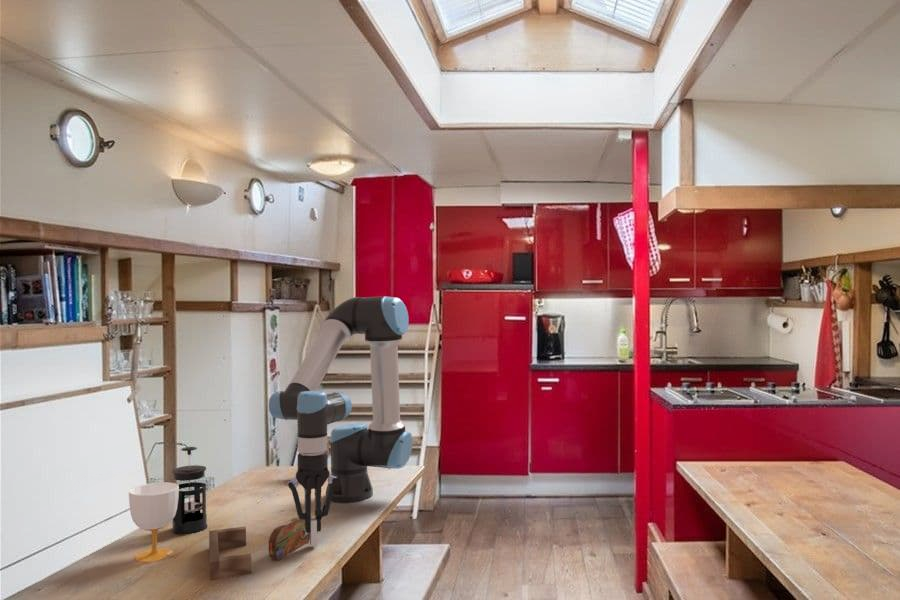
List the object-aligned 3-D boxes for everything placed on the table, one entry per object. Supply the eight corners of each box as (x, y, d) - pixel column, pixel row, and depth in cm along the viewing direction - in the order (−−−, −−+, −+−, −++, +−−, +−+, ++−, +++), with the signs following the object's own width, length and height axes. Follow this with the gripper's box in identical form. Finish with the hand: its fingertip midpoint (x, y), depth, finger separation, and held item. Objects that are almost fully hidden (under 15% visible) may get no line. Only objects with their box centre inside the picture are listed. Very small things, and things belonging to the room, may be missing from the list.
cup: (147, 568, 161) (146, 498, 161) (119, 558, 167) (118, 490, 167) (189, 552, 171) (188, 486, 171) (161, 544, 177) (160, 479, 177)
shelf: (245, 545, 176) (245, 526, 176) (251, 578, 155) (251, 556, 155) (209, 550, 173) (209, 530, 173) (210, 584, 152) (210, 562, 152)
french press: (183, 522, 195) (183, 443, 195) (214, 523, 194) (213, 443, 194) (161, 536, 183) (161, 452, 183) (194, 537, 182) (193, 453, 182)
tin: (276, 567, 161) (276, 532, 161) (265, 565, 163) (265, 531, 163) (311, 545, 175) (311, 513, 175) (301, 544, 177) (301, 512, 177)
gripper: (335, 447, 177) (335, 536, 177) (284, 451, 172) (285, 542, 172) (340, 453, 170) (341, 546, 170) (288, 457, 165) (289, 553, 165)
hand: (313, 544), depth 171 cm, fingers closed
